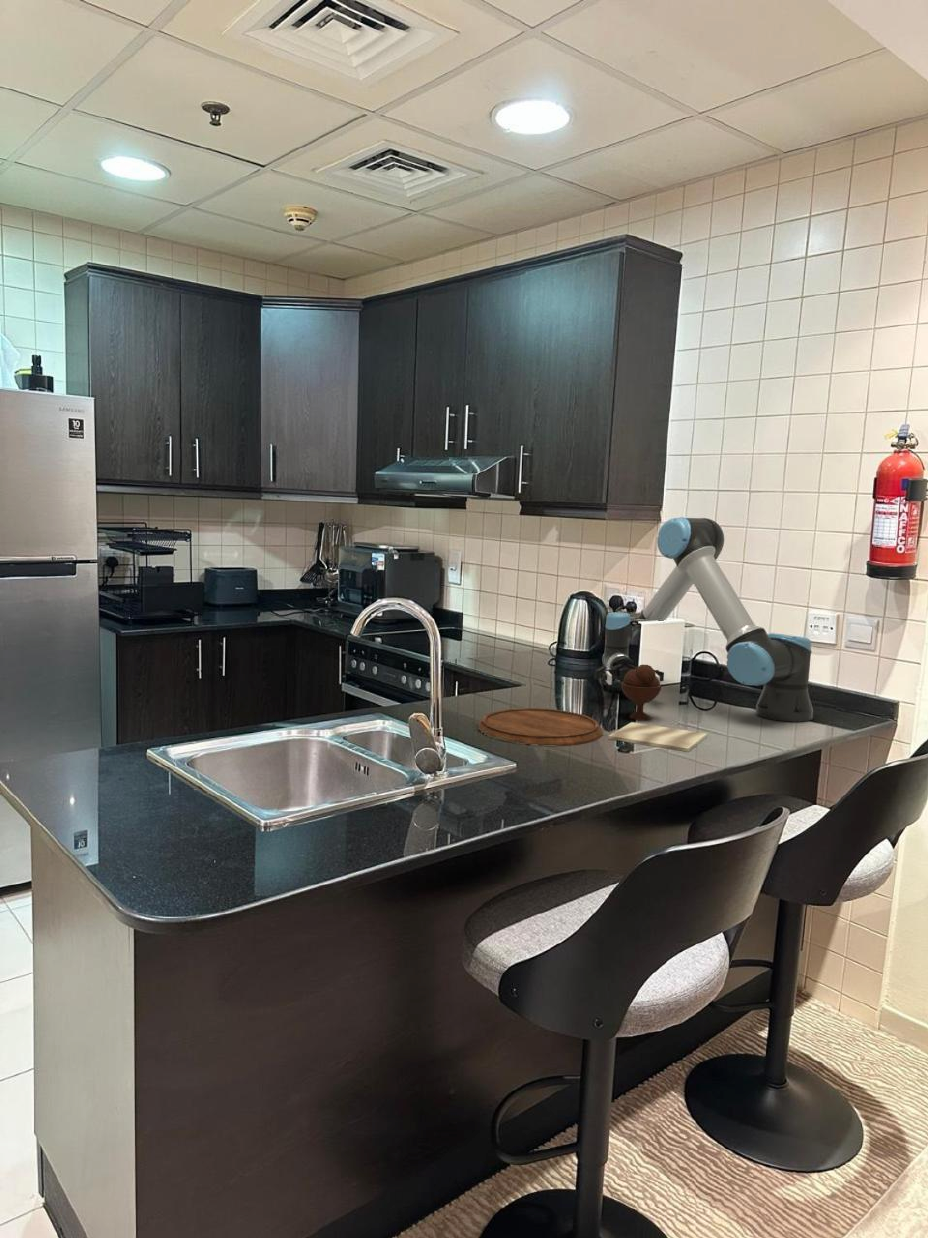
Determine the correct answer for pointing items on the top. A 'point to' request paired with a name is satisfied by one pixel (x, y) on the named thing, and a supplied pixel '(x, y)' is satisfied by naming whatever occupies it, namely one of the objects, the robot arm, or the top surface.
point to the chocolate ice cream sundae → (641, 688)
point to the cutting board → (541, 726)
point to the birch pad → (658, 736)
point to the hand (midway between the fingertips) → (634, 680)
